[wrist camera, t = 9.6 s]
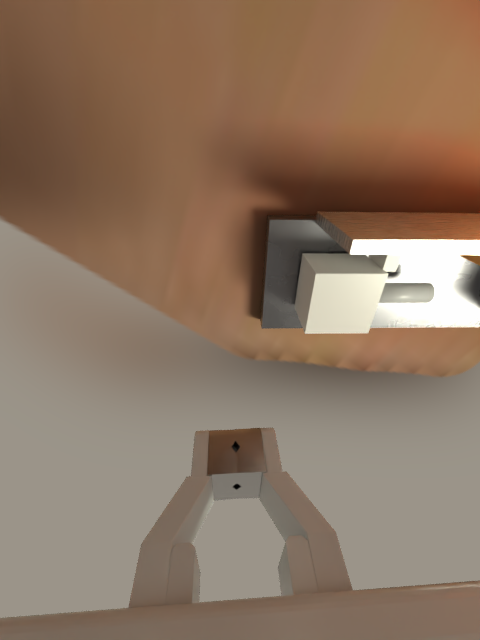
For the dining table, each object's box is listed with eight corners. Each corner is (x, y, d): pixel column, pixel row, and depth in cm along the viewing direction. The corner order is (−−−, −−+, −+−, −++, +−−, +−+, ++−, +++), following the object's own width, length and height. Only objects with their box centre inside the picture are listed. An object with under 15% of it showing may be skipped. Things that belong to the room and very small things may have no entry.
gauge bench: (260, 319, 27) (271, 382, 20) (267, 207, 21) (287, 239, 14) (490, 318, 28) (580, 378, 21) (559, 210, 22) (715, 241, 15)
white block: (294, 307, 24) (304, 333, 21) (305, 233, 21) (320, 250, 17) (402, 306, 25) (430, 332, 21) (432, 233, 21) (470, 251, 18)
